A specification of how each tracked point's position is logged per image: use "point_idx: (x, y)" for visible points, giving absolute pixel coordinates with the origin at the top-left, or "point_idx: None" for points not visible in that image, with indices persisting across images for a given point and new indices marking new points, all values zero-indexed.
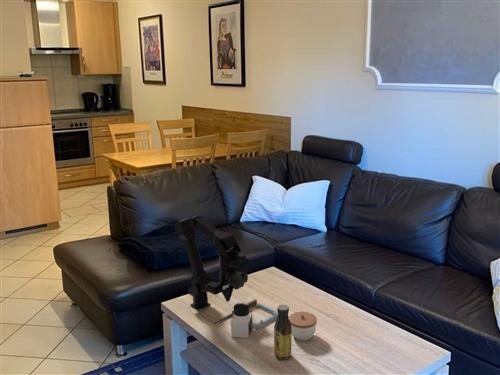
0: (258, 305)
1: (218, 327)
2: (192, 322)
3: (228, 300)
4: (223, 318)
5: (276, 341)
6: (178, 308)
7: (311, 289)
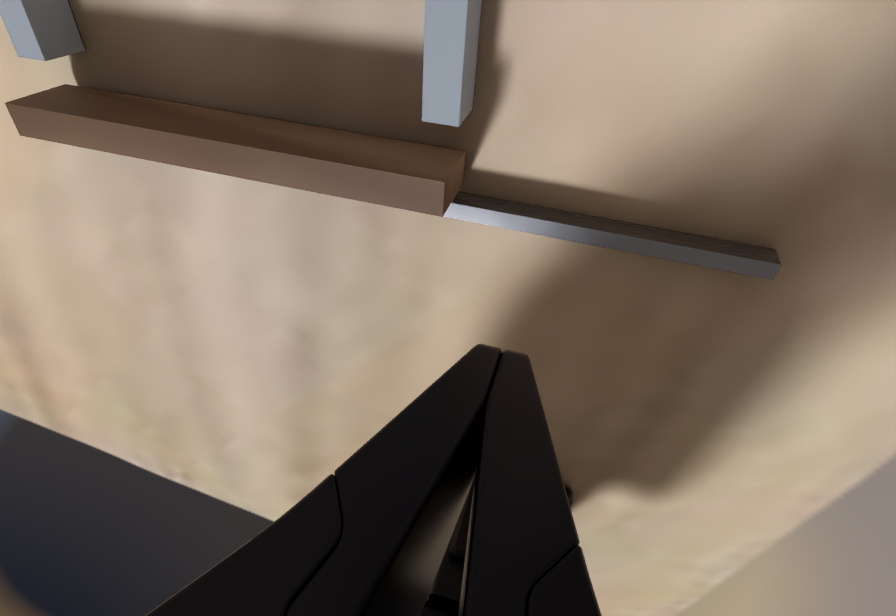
0: (50, 28)
1: (854, 158)
2: (830, 465)
3: (517, 371)
4: (606, 230)
5: None
6: (630, 596)
7: None
